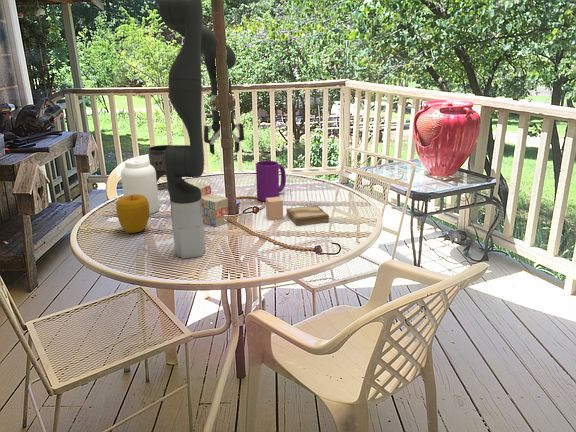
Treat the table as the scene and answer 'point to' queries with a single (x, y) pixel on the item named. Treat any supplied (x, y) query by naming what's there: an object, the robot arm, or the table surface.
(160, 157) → the planter
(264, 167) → the mug
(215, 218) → the stack of blocks
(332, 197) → the table surface
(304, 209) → the base
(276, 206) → the block
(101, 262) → the table surface
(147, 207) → the apple
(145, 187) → the white jar
